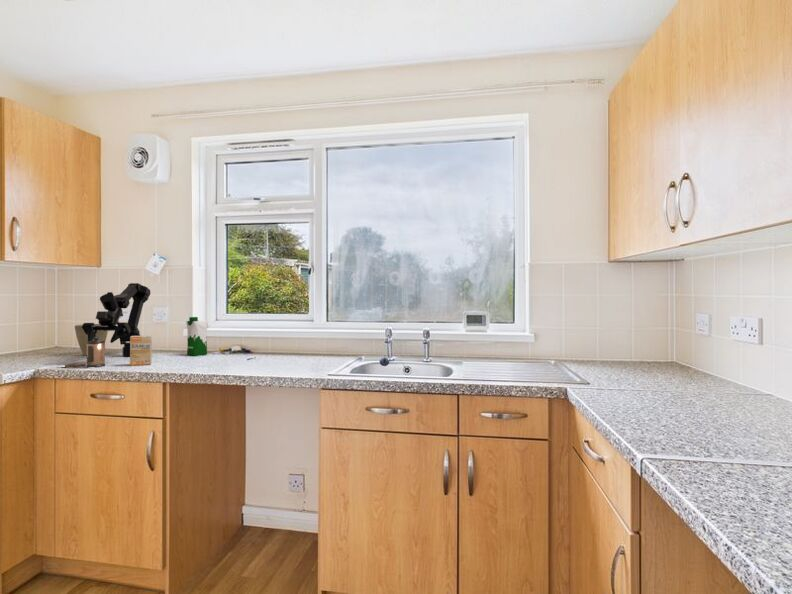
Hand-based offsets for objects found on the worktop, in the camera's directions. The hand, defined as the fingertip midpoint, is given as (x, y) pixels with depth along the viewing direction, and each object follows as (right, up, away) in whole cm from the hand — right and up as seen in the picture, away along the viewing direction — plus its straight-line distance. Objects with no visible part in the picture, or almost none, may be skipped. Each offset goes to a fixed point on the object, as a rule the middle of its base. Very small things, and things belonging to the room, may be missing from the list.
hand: (99, 342), depth 195 cm
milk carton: (+28, -10, +33) cm, 45 cm away
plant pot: (-28, -10, +35) cm, 46 cm away
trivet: (-11, -10, -3) cm, 15 cm away
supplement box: (+18, -10, +1) cm, 21 cm away
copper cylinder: (0, -10, -3) cm, 11 cm away
